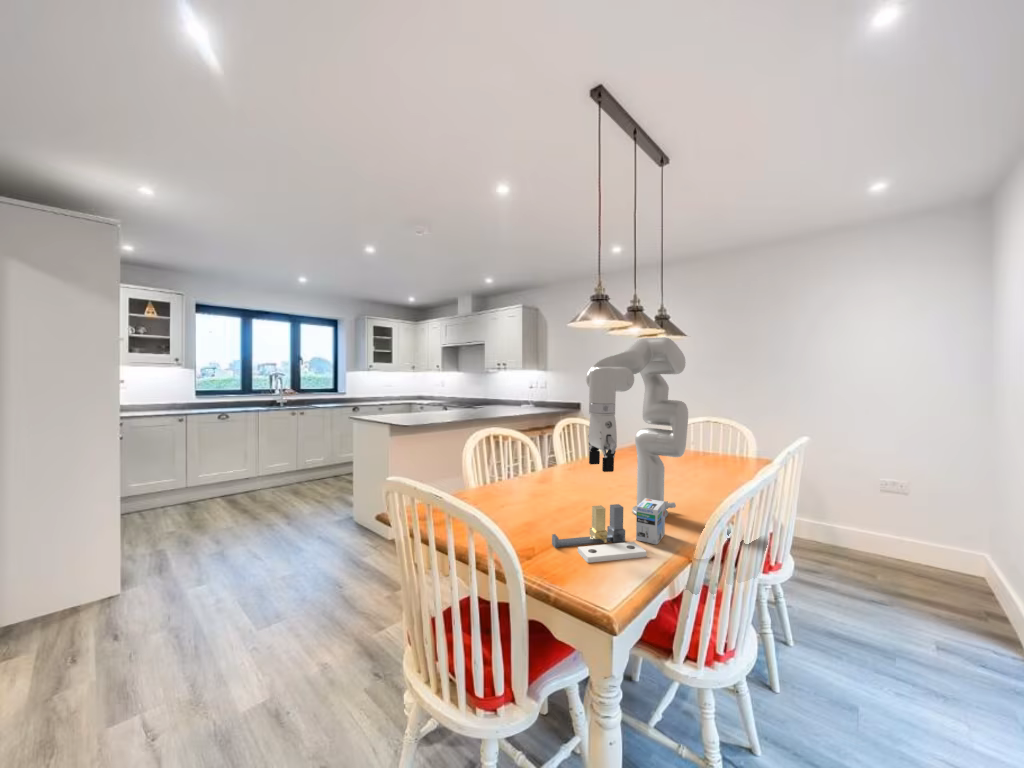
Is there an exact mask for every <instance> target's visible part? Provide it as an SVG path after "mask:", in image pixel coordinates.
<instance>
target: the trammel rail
mask: <svg viewBox="0 0 1024 768" xmlns="http://www.w3.org/2000/svg"><path fill="white" fill-rule="evenodd" d="M606 531H607V538H605V539H606V540H607V543H611V544H615V543H625V542H626V529H624V506H622V505H621V504H619V503H617V504H616V503H615V504H610V505H609V525H608V526H607V530H606ZM593 544H594V545H598V544H605V543H604V542H603V541H602V540H601V539H594V538H593V537H592V536H591V535H590V536H581V537H580V536H579V537H570V538H569V537H567V538H559V537H558V536H557V535H556V533H554V534H551V545H552V546H553V547H554V549H558V548H564V547H574V546H585V545H593Z"/></svg>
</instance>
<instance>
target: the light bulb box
mask: <svg viewBox="0 0 1024 768" xmlns="http://www.w3.org/2000/svg"><path fill="white" fill-rule="evenodd" d="M636 506H637V505H636ZM635 523H636V524H635V525H636V528H635V529H636V531H635V532H636V533H635V534H636V535H635V539H636V541H640V542H645V543H649V544H653V545H655V546H656V545H658V544H659V543H660V541H662V539H663V538H664V537H665V535H666V517H665V502H663V501H657V500H652V499H647V498H645V499H644V500H643V501H642V502H641V503H640V504H639V505H638V506H637V515H636V522H635Z"/></svg>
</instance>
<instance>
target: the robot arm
mask: <svg viewBox="0 0 1024 768" xmlns="http://www.w3.org/2000/svg"><path fill="white" fill-rule="evenodd" d="M676 343H677V342H675V341H674V340H672V339H671V338H669V337H667V336H666V337H665V336H664V337H661V336H660V337H644V338H639V339H637V340H635V341H634V342H633V343H632V344H631V345H630V346H628V347H627V349H625V350H624V351H621V352H618V353H615V354H613V355H610V356H607V357H604V358H602V359H599V360H598V361H596V362H595V363H594V364H593V365H591V367H590V368H589V369H588V371H587V373H586V378H585V381H586V384H587V386H588V389H589V390H588V392H589V395H588V415H590V416H589V426H588V427H589V428H588V436H587V437H588V453H589V454H588V456H589V457H588V463H589V465H600V461H601V460H600V459H601V457H600V455H601V451H602V455H603V457H602V469H601V470H602V472H603V473H613V472H614V470H615V469H614V468H615V467H614V466H615V457H616V452H617V451H616V449H617V448H618V440H617V439H618V438H617V435H618V434H617V421H616V394H617V393H616V392H621V393H622V392H623V393H624V392H627V391H629V390H631V389H632V387H633V386H634V383H635V375H637V374H640V376H641V378H642V381H643V383H644V384H643V385H644V392H643V403H642V419H643V422H645V424H648V425H654V426H664V427H671V429H664V428H653V427H644V428H640V429H639V430H638V431H637V432H636V433H635V436H634V437H635V438H634V440H635V441H634V443H635V447H636V448H635V449H636V455H637V457H636V458H637V459H636V460H637V468H636V471H637V472H636V473H637V475H636V476H637V477H636V480H637V481H636V505H635V506H632V509H631V510H632V513H633V514H634V515H635V516H637V506H638V505H639V504H640V503H641V502H642V501H643V500H644V499H645V498H647V499H652V500H657V501H663V502H665V518H667V517H668V516H669V511H668V509H675V508H676V507H677V506H676V502H674V501H673V502H669V501H666V500H665V465H664V463H663V460H662V459H661V457H660V456H662V457H670V458H681V457H683V455H684V454H685V451H686V447H687V438H688V437H687V436H688V427H689V426H688V423H689V409H688V405H687V404H686V403H685V402H684V401H682V400H675V399H672V400H671V399H669V390H670V388H669V385H668V383H667V380H665V378H664V377H663V376H662V375H679V374H682V373H683V371H684V370H685V367H686V364H687V363H686V357H685V355H684V353H683V351H682V349H680V347H679V346H678V344H676ZM600 450H601V451H600Z"/></svg>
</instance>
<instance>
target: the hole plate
mask: <svg viewBox="0 0 1024 768" xmlns="http://www.w3.org/2000/svg"><path fill="white" fill-rule="evenodd" d="M577 553H578V554H579V555H580V557H581V558H583V560H584V562H586V563H587V564H588V563H589V564H590V563H599V562H609V561H616V560H617V561H618V560H627V559H637V558H645V557H647V550H645V549H644V548H643V547H642V546H640V545H639V544H637V543H636V542H635V541H627V542H626V541H625V542H622V543H606V544H605V543H603V544H594V545H587V546H585V545H583V546H577Z"/></svg>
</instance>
